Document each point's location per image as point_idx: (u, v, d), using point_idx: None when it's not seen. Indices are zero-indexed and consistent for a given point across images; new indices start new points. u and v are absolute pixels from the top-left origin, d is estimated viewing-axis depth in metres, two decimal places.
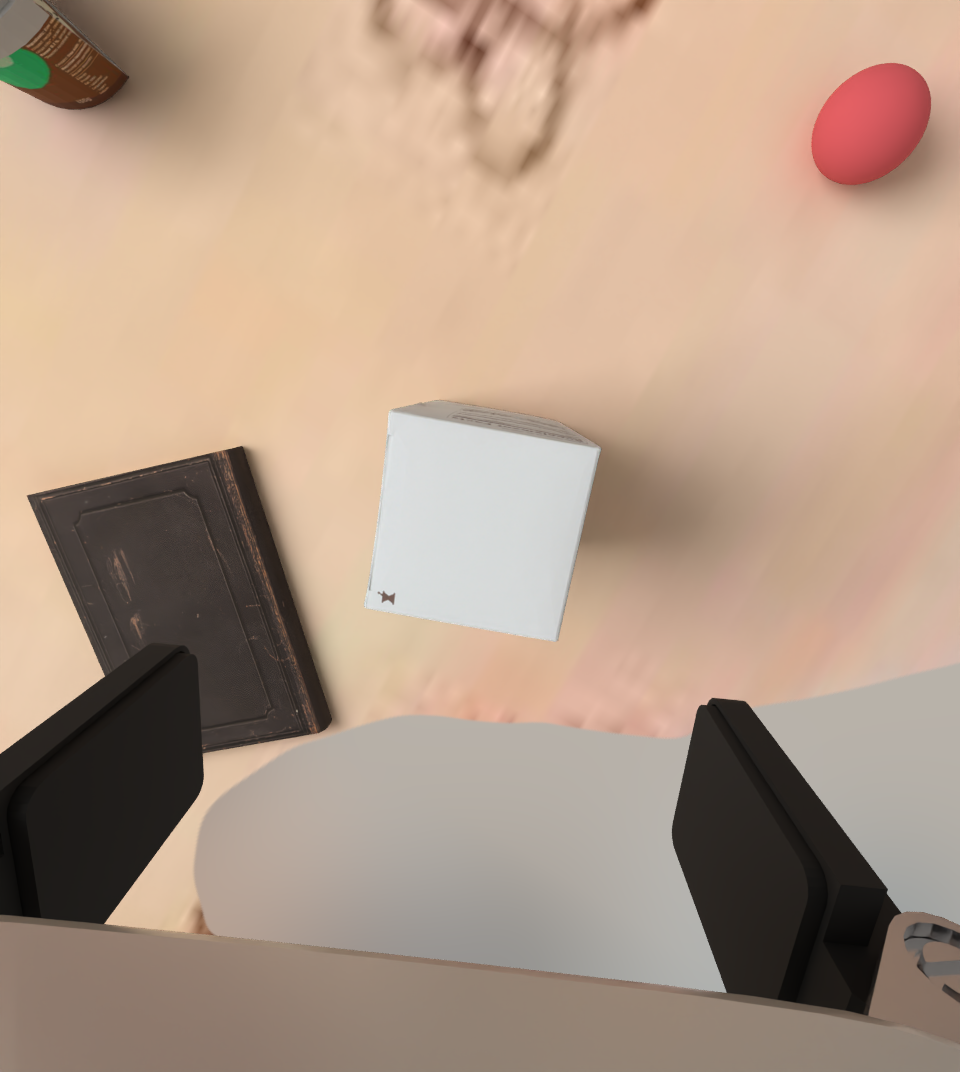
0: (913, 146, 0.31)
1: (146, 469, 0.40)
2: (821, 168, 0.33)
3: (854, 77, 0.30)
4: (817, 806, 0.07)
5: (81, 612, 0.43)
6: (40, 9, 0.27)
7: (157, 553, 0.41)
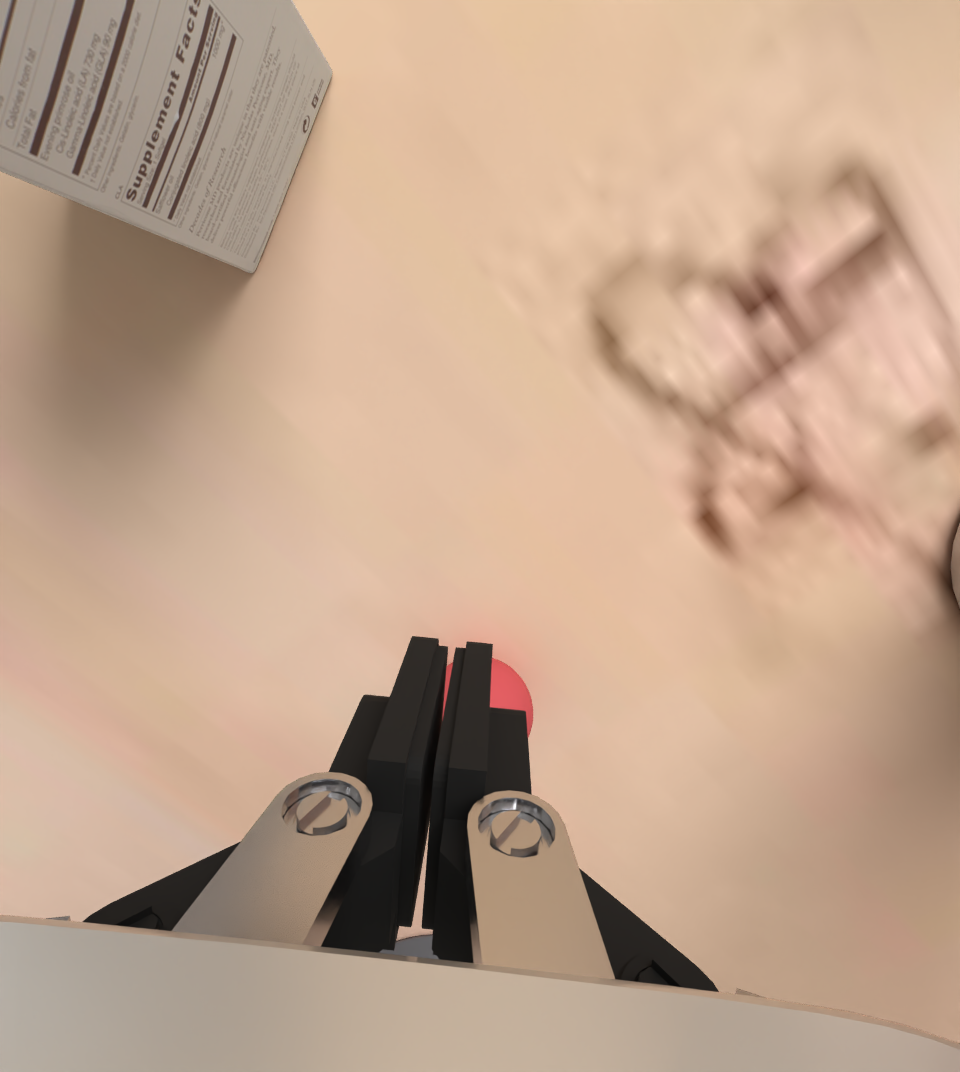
0: None
1: None
2: None
3: (526, 708, 0.27)
4: (481, 717, 0.08)
5: None
6: None
7: None
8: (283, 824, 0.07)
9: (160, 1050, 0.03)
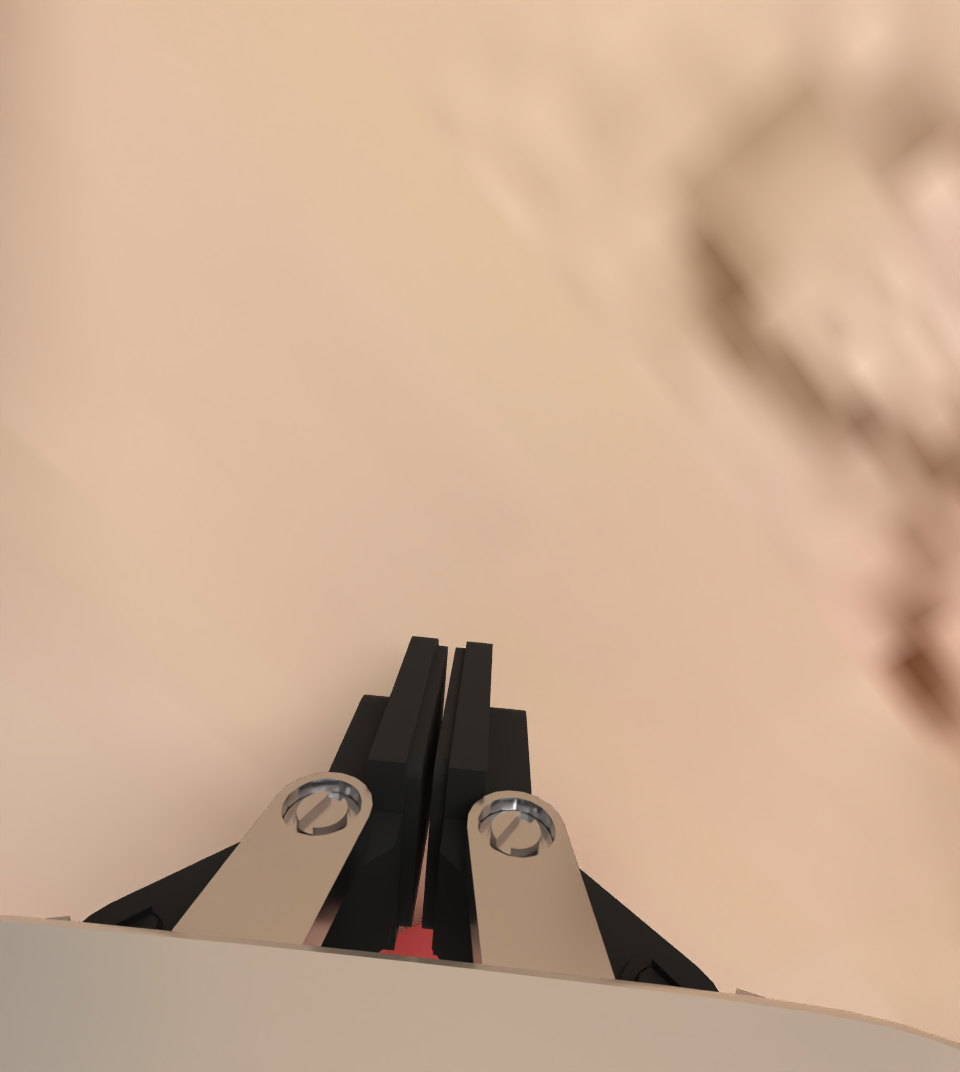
0: None
1: None
2: (396, 952, 0.14)
3: None
4: (481, 717, 0.08)
5: None
6: None
7: None
8: (283, 824, 0.07)
9: (159, 1050, 0.03)
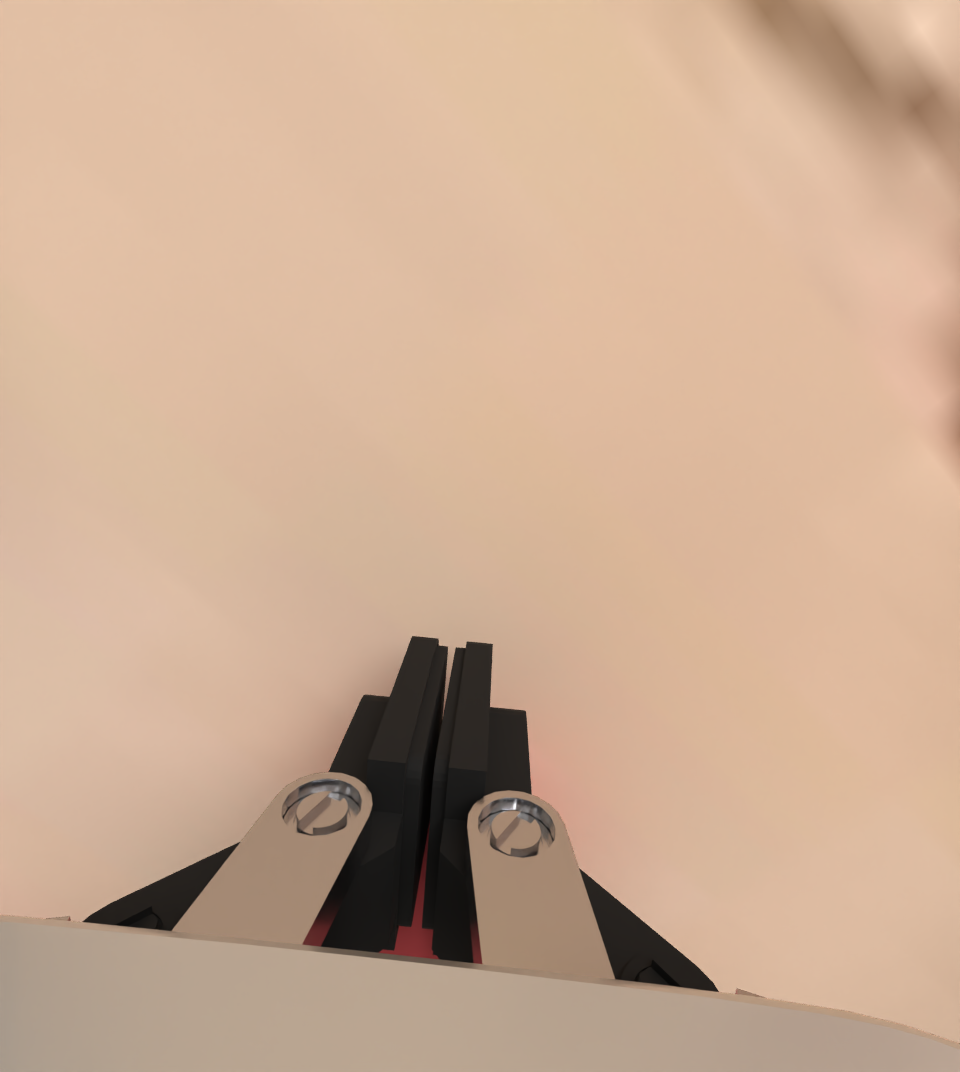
0: None
1: None
2: None
3: None
4: (481, 717, 0.08)
5: None
6: None
7: None
8: (283, 824, 0.07)
9: (160, 1050, 0.03)
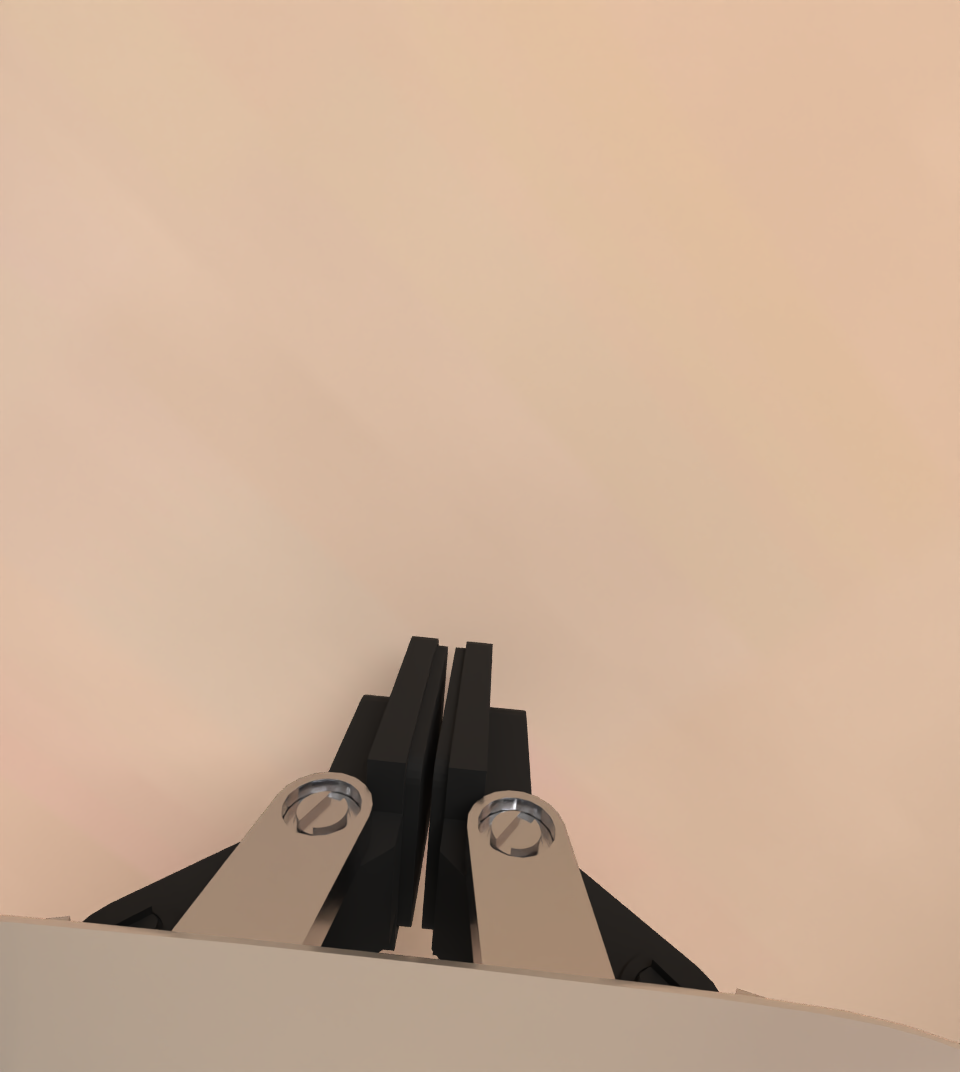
0: None
1: None
2: None
3: None
4: (481, 717, 0.08)
5: None
6: None
7: None
8: (283, 824, 0.07)
9: (159, 1050, 0.03)
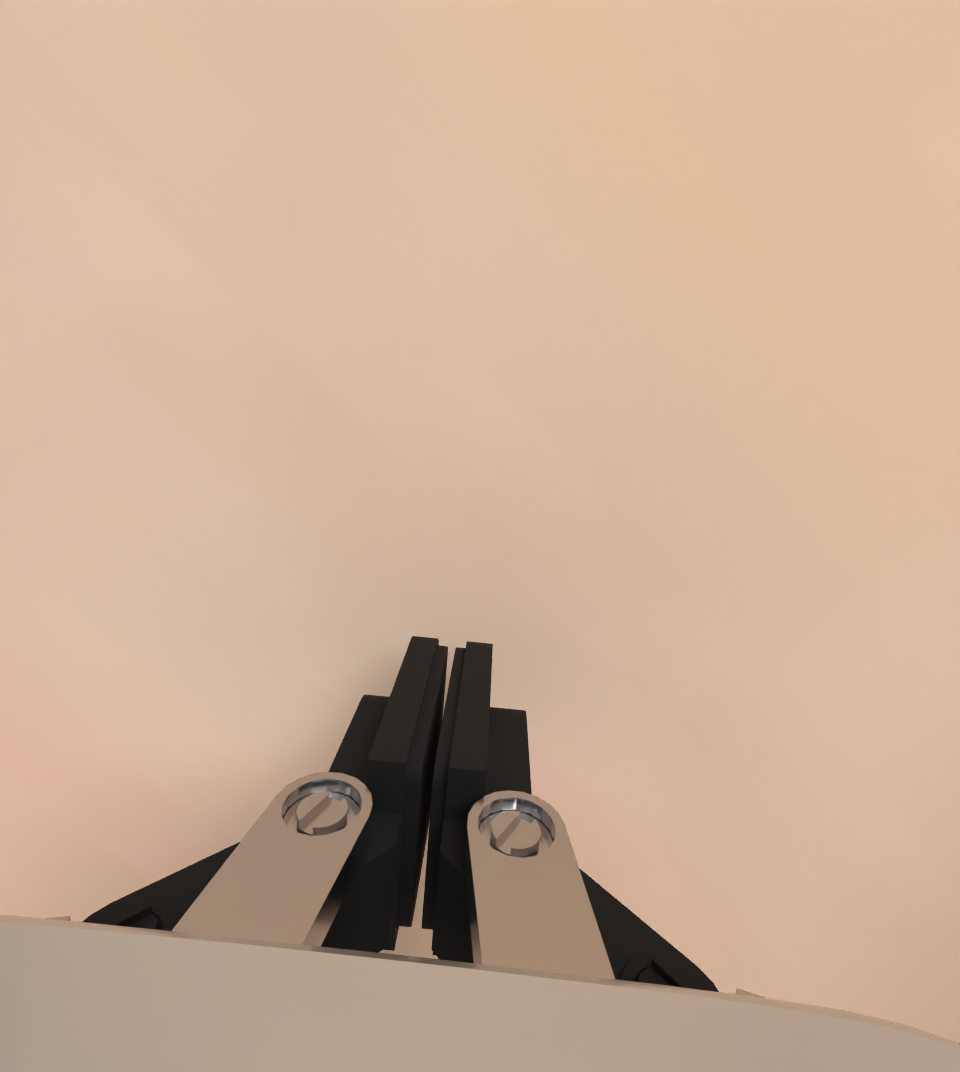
0: None
1: None
2: None
3: None
4: (481, 717, 0.08)
5: None
6: None
7: None
8: (283, 824, 0.07)
9: (159, 1050, 0.03)
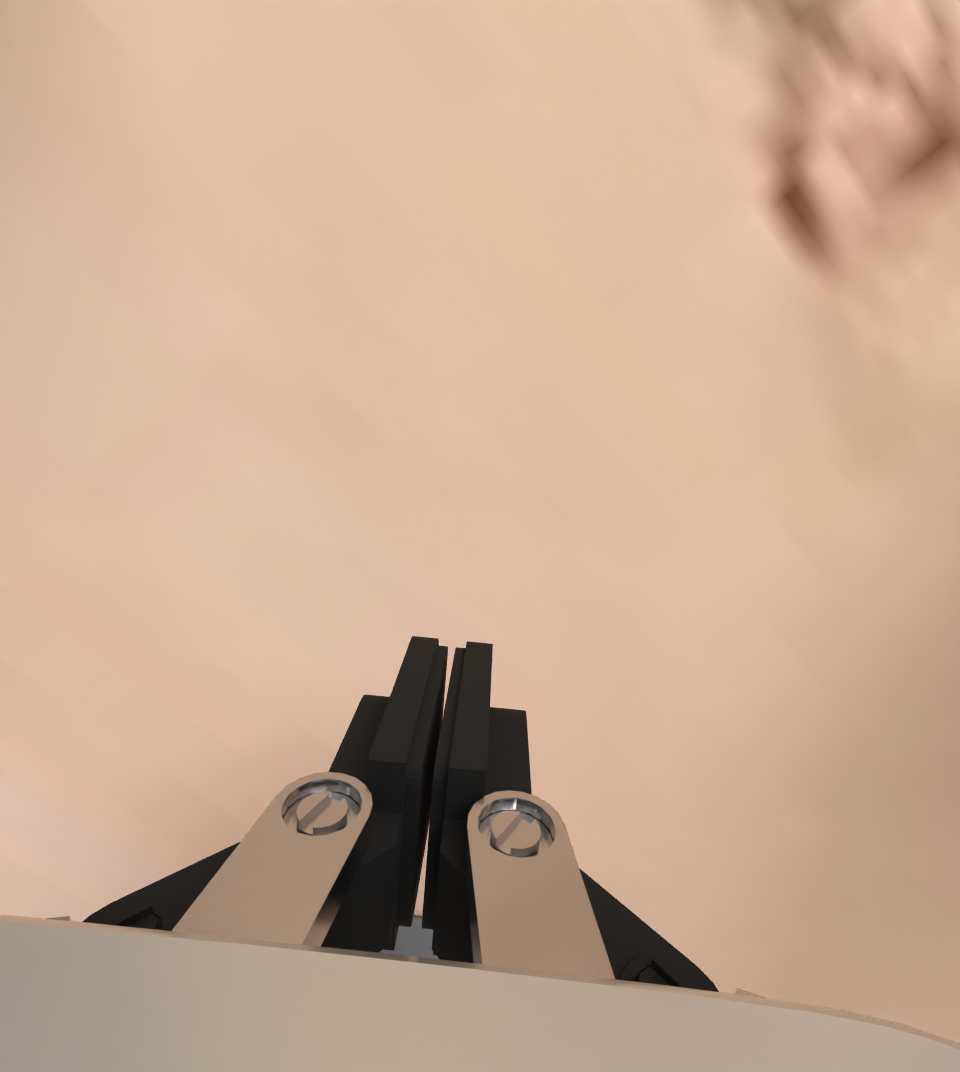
0: None
1: None
2: None
3: None
4: (481, 716, 0.08)
5: None
6: None
7: None
8: (283, 824, 0.07)
9: (160, 1050, 0.03)
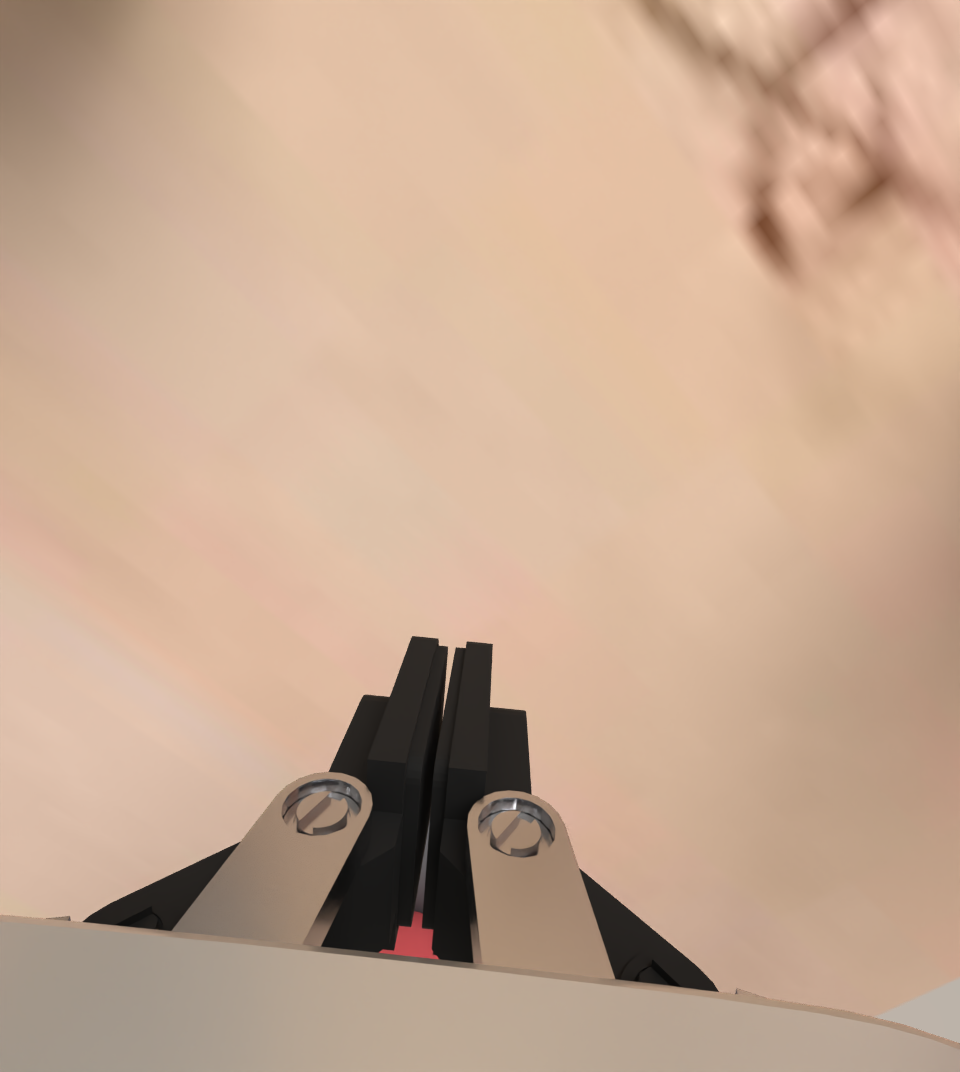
0: None
1: None
2: None
3: None
4: (481, 717, 0.08)
5: None
6: None
7: None
8: (283, 824, 0.07)
9: (160, 1050, 0.03)
